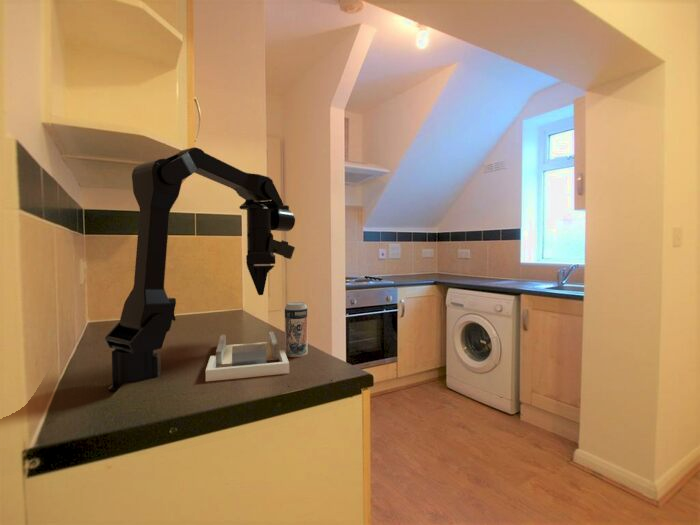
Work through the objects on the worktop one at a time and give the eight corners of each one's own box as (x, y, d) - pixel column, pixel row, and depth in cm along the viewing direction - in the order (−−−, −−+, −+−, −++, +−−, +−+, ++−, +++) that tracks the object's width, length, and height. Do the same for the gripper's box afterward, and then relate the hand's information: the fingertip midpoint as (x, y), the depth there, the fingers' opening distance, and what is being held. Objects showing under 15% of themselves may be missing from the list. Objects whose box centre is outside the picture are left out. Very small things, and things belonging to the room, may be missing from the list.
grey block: (232, 378, 63) (231, 353, 63) (232, 369, 68) (232, 346, 68) (266, 374, 65) (266, 350, 65) (264, 366, 70) (264, 343, 70)
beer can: (286, 363, 73) (285, 305, 73) (284, 356, 78) (283, 302, 78) (309, 361, 74) (308, 304, 74) (306, 355, 79) (305, 301, 79)
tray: (205, 388, 60) (205, 370, 60) (210, 371, 68) (210, 355, 68) (289, 379, 64) (289, 362, 64) (284, 364, 72) (283, 349, 72)
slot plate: (216, 370, 69) (215, 351, 69) (221, 350, 83) (221, 334, 83) (279, 365, 72) (278, 346, 72) (273, 346, 87) (273, 331, 86)
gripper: (297, 227, 80) (298, 296, 81) (287, 232, 98) (288, 288, 99) (246, 226, 77) (247, 298, 77) (245, 231, 95) (246, 289, 95)
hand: (259, 292), depth 87 cm, fingers open, 9 cm apart
